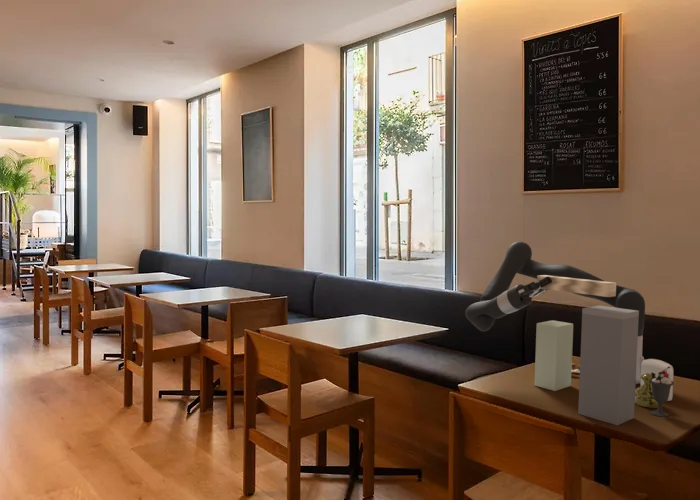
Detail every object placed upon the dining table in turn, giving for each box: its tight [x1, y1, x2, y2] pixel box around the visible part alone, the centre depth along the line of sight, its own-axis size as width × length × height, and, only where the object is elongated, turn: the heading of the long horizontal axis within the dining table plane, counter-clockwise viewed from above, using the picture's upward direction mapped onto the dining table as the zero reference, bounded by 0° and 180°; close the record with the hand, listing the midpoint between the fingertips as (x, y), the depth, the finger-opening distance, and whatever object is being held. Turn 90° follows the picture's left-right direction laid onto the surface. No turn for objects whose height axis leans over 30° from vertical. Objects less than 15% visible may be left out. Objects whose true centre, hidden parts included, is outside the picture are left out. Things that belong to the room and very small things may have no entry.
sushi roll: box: [571, 362, 580, 379], centre depth 221 cm, size 15×15×4 cm
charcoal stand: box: [577, 305, 639, 426], centre depth 173 cm, size 12×10×32 cm
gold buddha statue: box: [635, 373, 658, 409], centre depth 185 cm, size 7×7×10 cm
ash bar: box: [536, 275, 617, 297], centre depth 181 cm, size 24×4×4 cm, turn 39°
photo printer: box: [639, 358, 674, 402], centre depth 193 cm, size 10×4×12 cm, turn 26°
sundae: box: [649, 366, 675, 418], centre depth 176 cm, size 7×7×15 cm
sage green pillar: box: [534, 319, 574, 392], centre depth 204 cm, size 8×10×22 cm
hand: (554, 278), depth 186 cm, fingers closed on ash bar, 4 cm apart
